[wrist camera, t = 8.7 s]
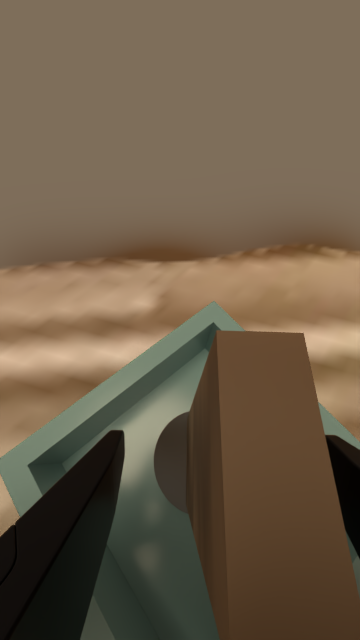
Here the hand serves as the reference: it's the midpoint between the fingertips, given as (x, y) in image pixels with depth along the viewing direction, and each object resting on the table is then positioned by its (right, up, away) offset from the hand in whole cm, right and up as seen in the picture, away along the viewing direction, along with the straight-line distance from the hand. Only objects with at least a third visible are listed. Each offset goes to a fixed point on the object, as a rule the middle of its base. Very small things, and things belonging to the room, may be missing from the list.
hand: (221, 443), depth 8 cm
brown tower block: (0, -4, +7) cm, 8 cm away
